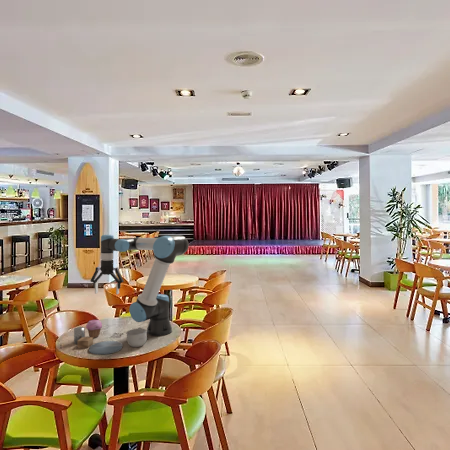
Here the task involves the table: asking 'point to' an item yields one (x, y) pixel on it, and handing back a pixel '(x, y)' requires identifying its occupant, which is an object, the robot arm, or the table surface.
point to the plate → (105, 347)
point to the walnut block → (85, 342)
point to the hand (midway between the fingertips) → (106, 293)
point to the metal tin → (78, 333)
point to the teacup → (136, 337)
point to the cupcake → (94, 328)
